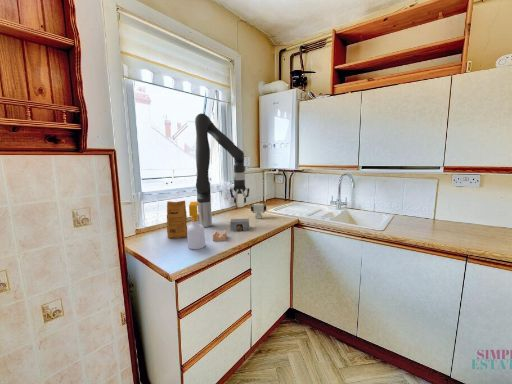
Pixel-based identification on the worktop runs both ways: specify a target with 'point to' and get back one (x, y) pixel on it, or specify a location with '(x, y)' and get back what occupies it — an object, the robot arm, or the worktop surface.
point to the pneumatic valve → (258, 210)
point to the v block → (219, 236)
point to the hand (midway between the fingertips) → (240, 203)
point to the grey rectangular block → (239, 221)
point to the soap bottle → (195, 229)
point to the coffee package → (176, 219)
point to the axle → (239, 227)
